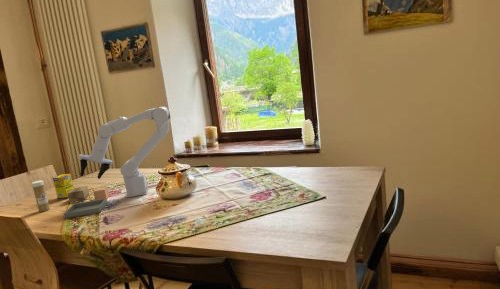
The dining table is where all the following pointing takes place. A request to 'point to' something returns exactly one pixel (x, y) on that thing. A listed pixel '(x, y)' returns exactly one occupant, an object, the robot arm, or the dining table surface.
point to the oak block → (78, 194)
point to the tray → (85, 208)
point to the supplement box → (63, 185)
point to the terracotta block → (101, 193)
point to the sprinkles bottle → (40, 195)
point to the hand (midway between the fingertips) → (90, 176)
